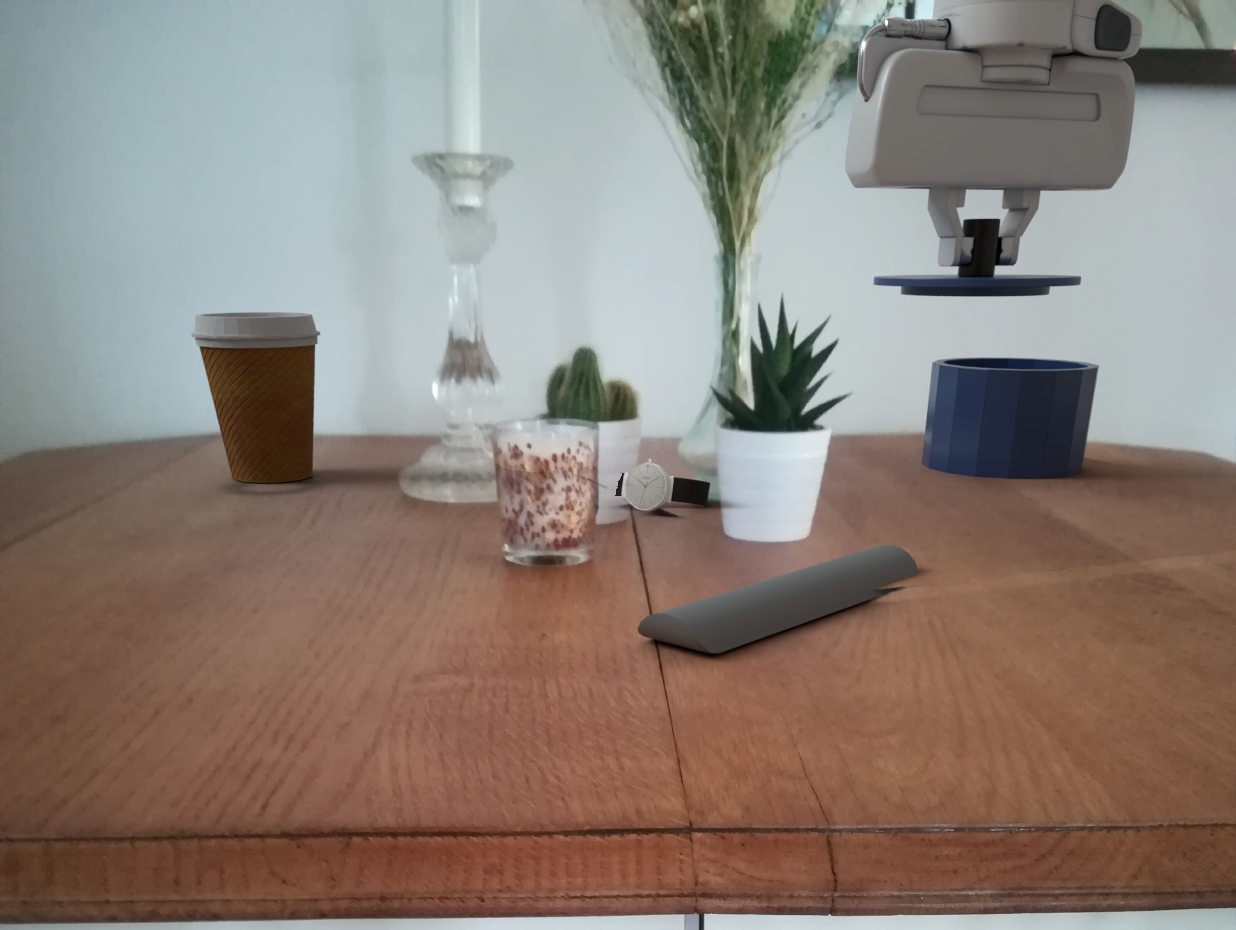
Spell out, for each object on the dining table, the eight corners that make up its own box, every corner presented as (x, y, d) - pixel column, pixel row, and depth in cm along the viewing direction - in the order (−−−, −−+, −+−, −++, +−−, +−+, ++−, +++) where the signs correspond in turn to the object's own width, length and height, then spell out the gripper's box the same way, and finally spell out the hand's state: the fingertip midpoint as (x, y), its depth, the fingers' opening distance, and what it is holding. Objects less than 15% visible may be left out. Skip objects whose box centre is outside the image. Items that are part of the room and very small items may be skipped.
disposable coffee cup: (184, 479, 96) (161, 315, 91) (274, 463, 104) (257, 310, 99) (270, 491, 92) (251, 319, 87) (358, 473, 99) (344, 314, 94)
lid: (990, 289, 91) (998, 221, 89) (1124, 295, 80) (1136, 216, 78) (834, 293, 86) (839, 220, 84) (953, 299, 75) (961, 215, 73)
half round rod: (923, 583, 67) (926, 550, 66) (701, 662, 54) (703, 623, 53) (856, 570, 69) (858, 539, 69) (629, 643, 56) (630, 605, 55)
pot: (1011, 457, 108) (1025, 355, 105) (1114, 480, 98) (1134, 367, 94) (892, 466, 104) (902, 359, 100) (986, 490, 93) (1002, 372, 90)
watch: (593, 510, 86) (593, 456, 84) (623, 499, 89) (624, 448, 88) (693, 520, 82) (695, 465, 81) (721, 508, 86) (723, 455, 85)
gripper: (893, 4, 70) (873, 268, 76) (1164, 25, 77) (1126, 264, 83) (834, 22, 76) (820, 267, 81) (1093, 40, 83) (1063, 264, 89)
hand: (977, 266), depth 82 cm, fingers closed on lid, 2 cm apart
